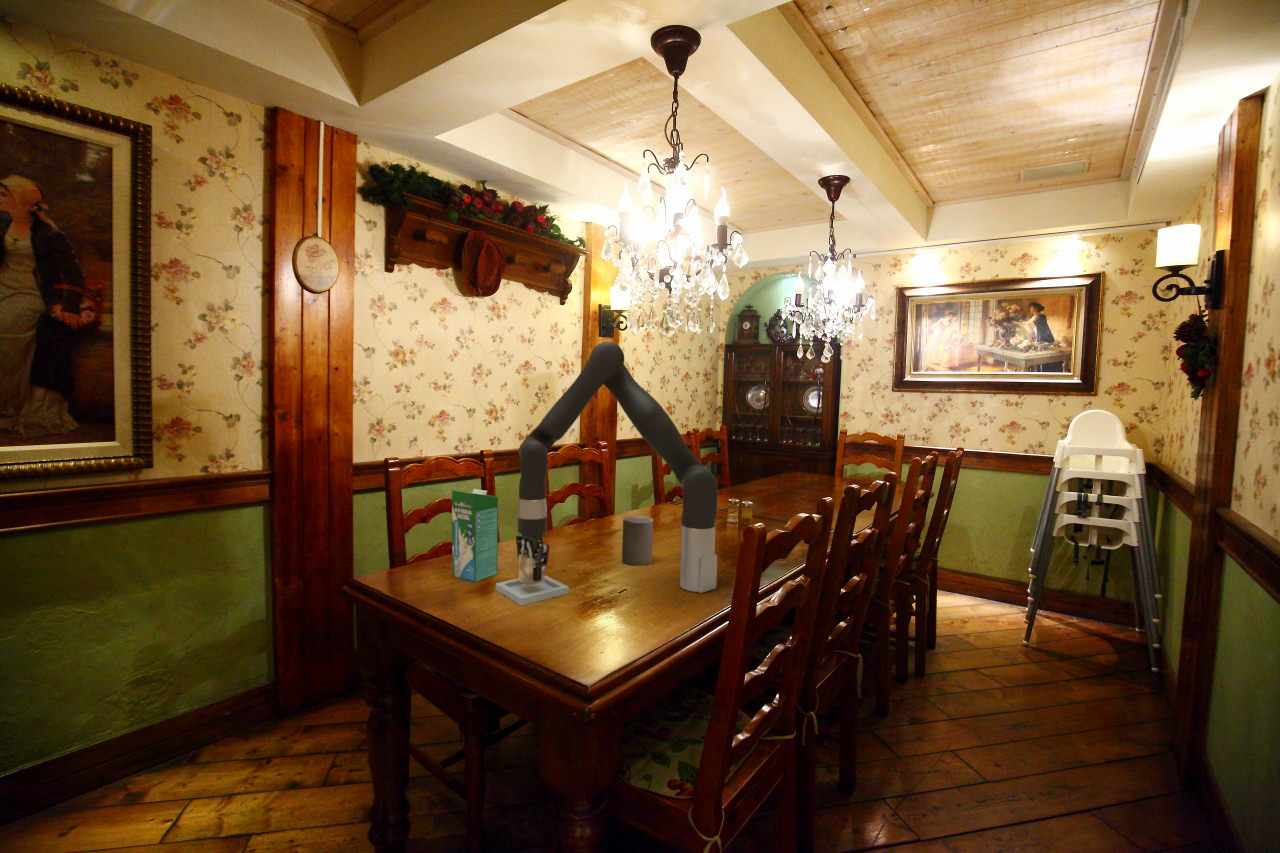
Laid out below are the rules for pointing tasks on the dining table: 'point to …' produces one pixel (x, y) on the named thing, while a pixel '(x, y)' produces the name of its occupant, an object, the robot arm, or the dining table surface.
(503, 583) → the tray
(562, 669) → the dining table surface
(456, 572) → the milk carton
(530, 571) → the maple block
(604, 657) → the dining table surface
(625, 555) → the pillar candle
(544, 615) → the dining table surface
